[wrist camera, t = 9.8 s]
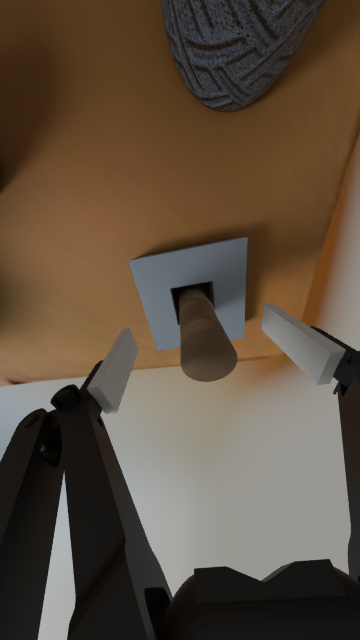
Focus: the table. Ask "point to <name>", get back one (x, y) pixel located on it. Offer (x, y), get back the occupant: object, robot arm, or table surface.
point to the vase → (235, 45)
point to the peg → (203, 338)
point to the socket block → (187, 269)
